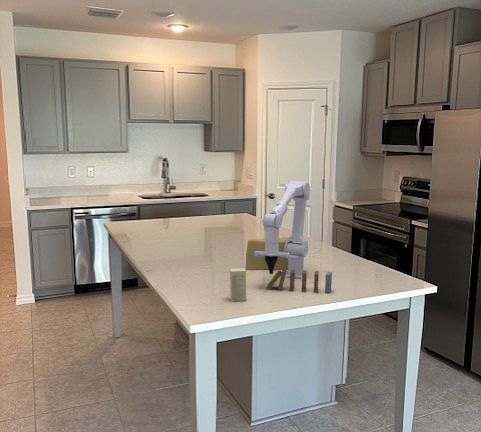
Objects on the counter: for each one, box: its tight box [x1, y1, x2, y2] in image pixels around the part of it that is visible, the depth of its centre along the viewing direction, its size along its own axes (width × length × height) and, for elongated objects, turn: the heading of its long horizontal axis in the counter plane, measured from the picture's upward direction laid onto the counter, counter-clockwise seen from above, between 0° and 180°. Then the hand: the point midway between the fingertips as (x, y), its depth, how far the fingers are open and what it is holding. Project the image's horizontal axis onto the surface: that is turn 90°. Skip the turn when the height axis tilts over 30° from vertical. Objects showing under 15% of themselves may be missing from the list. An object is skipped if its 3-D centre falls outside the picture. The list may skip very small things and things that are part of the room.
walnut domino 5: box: [313, 270, 320, 294], centre depth 202 cm, size 2×5×8 cm, turn 170°
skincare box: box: [229, 267, 247, 302], centre depth 190 cm, size 6×4×12 cm
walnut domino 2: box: [277, 269, 288, 291], centre depth 204 cm, size 2×5×8 cm, turn 170°
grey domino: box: [324, 271, 333, 295], centre depth 201 cm, size 2×5×8 cm, turn 158°
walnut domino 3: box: [289, 269, 296, 292], centre depth 204 cm, size 2×5×8 cm, turn 170°
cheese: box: [245, 236, 289, 271], centre depth 235 cm, size 22×10×15 cm, turn 103°
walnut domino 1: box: [266, 270, 282, 290], centre depth 205 cm, size 2×5×8 cm
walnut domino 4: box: [301, 269, 308, 293], centre depth 203 cm, size 2×5×8 cm, turn 169°
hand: (271, 273), depth 205 cm, fingers closed
